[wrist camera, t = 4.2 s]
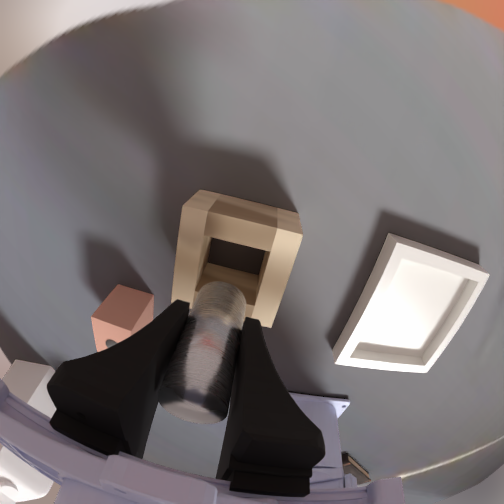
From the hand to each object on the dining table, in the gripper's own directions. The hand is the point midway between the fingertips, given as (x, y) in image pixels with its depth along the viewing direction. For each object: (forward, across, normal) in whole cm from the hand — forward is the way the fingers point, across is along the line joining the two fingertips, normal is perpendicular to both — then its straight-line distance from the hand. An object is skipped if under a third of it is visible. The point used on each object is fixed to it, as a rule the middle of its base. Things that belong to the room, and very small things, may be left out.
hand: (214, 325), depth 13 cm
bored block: (+9, 0, 0) cm, 9 cm away
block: (+9, +8, +9) cm, 15 cm away
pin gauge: (+2, 0, 0) cm, 2 cm away
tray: (+9, -16, +2) cm, 18 cm away
